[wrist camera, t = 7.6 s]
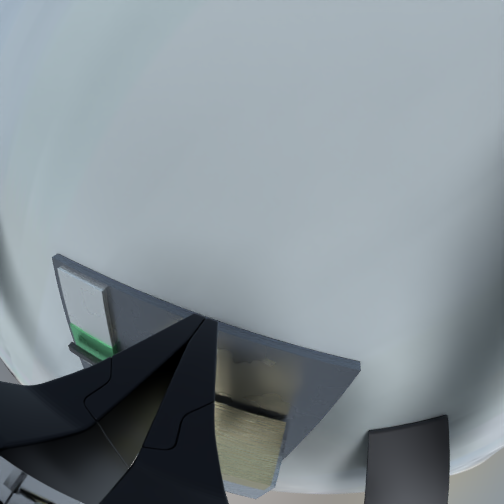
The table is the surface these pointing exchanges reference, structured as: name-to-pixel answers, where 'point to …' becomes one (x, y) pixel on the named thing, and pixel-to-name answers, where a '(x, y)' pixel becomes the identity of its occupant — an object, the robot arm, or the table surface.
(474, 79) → the table surface
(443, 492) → the phone stand
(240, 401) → the frame
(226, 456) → the plate
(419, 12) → the table surface
